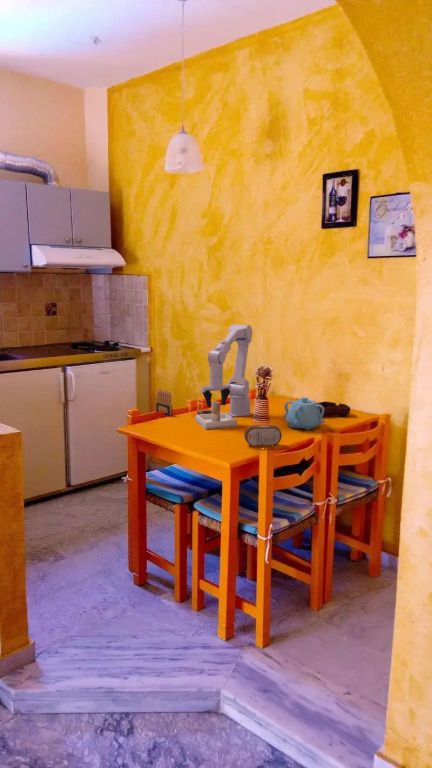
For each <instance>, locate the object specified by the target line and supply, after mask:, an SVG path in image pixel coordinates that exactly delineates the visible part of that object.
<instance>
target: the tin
mask: <svg viewBox="0 0 432 768" xmlns="http://www.w3.org/2000/svg"><path fill="white" fill-rule="evenodd" d="M243 435H244V441H246V443H247V444H248V445H249V446H250V447H273V446H272V445H274V446H276V445H279V443H280V442H281V440H282V436H283V434H282V431H281V430H280V428H279V426H277V425H274V424H253V425H250V426H249V427H247V428H246V430H245V431H244V434H243Z"/></svg>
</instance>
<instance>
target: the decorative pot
mask: <svg viewBox="0 0 432 768" xmlns="http://www.w3.org/2000/svg"><path fill="white" fill-rule="evenodd" d="M289 404H291V405H290V406H289V409H288V405H289ZM319 407H320V408H321V409H322V413H321V414H320V410H319ZM284 411H285V413H284V414H283V419H285V420H286V423H287V425H288V426H289V427H291V429H303V430H305V431H311V430H312V429H315V428H317V427H318V426H319V425H320V424H321V425H322V424H325V422H326V419H325V418H324V417H322V416H323V414H324V407H323V406H322V405H319V404H317V402H316V401H315V400H311V399H309V397H305V396H303V397H300V399H296V400H294V401H291V400H289V401H286V402H285V403H284Z"/></svg>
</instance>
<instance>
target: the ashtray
mask: <svg viewBox="0 0 432 768" xmlns="http://www.w3.org/2000/svg"><path fill="white" fill-rule="evenodd" d="M316 403H317V402H316ZM317 404H319V405H322V406H323V407H324V414H323V416H322V418H324V417H336V416H338V417H341V418H344V417H347V416H348V415H349V414H350V412H351V406H349V405H347V404H345V403H338V404H337V403H336V402H331V401H320V402H318V403H317ZM319 410H320V414H321V413H322V409H321V408H320V407H319Z"/></svg>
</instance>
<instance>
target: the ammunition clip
mask: <svg viewBox="0 0 432 768" xmlns="http://www.w3.org/2000/svg"><path fill="white" fill-rule="evenodd" d="M156 395H157V396H156V403H155V412H159V411H164V412H165V413H164V416H167V417H172V416H173V405H172V397H171V396H172V394H171V391H168V390H162V389H159V388H158V389H157V393H156Z"/></svg>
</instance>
